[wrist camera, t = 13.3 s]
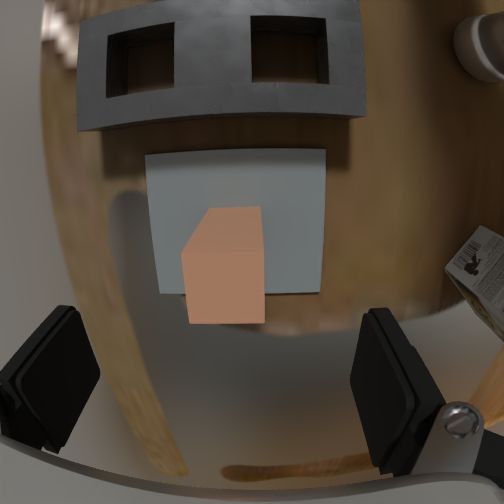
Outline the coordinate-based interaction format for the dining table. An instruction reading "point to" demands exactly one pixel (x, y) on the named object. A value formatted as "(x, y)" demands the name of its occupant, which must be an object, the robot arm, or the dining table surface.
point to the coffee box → (482, 276)
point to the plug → (225, 268)
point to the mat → (241, 195)
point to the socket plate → (219, 62)
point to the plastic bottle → (481, 46)
